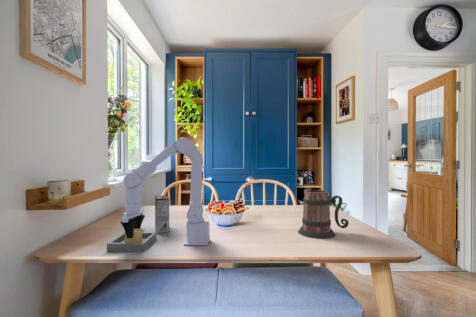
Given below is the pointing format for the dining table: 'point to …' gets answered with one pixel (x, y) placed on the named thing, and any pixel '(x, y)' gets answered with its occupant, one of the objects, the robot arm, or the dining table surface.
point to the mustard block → (135, 236)
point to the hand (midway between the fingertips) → (133, 235)
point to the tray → (120, 244)
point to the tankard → (319, 215)
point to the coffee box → (161, 214)
